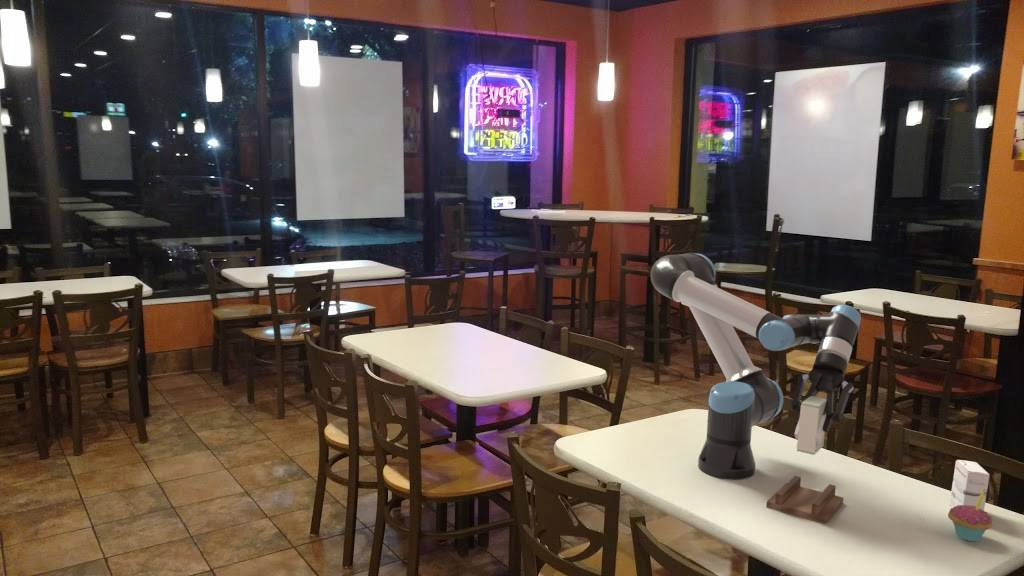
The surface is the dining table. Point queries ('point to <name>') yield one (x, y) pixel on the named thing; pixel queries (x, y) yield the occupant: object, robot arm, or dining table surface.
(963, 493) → the white rectangular block
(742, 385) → the robot arm
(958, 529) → the cupcake
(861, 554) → the dining table surface
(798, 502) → the walnut rack
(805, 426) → the sage box
